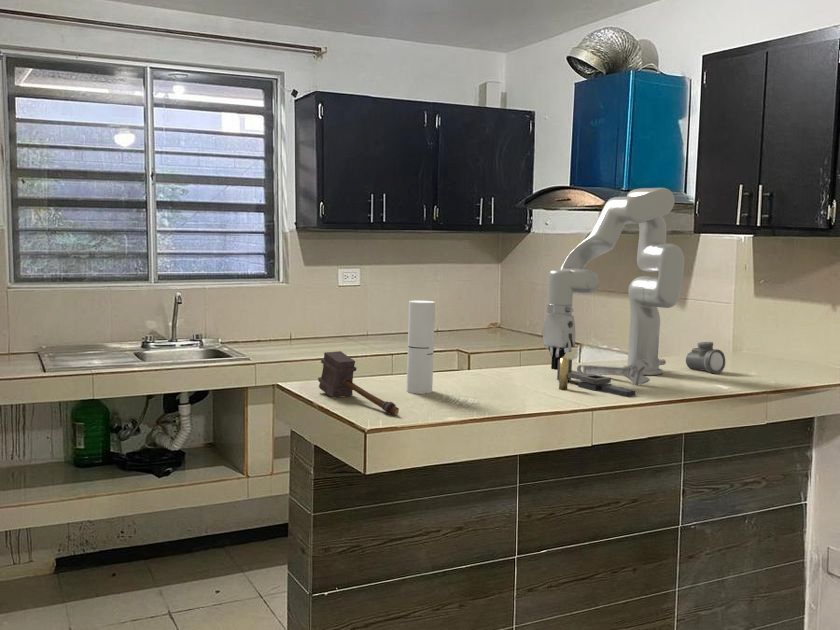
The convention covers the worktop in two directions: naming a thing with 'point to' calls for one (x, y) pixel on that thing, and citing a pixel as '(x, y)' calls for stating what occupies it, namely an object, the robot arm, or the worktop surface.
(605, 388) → the bar
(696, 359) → the pipe fitting
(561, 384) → the pin
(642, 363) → the wrench
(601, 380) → the chain end
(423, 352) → the cylindrical container
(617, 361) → the worktop surface
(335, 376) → the hammer
